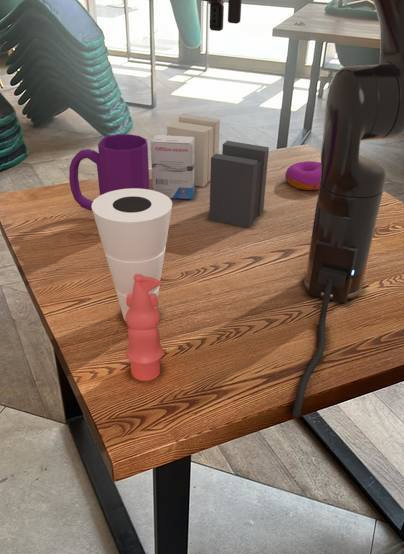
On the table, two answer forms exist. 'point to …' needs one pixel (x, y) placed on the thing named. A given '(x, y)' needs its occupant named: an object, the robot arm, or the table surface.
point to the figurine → (143, 329)
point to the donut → (304, 175)
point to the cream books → (199, 142)
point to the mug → (114, 166)
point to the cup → (133, 236)
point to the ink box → (173, 166)
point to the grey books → (238, 183)
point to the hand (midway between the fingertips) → (225, 26)
